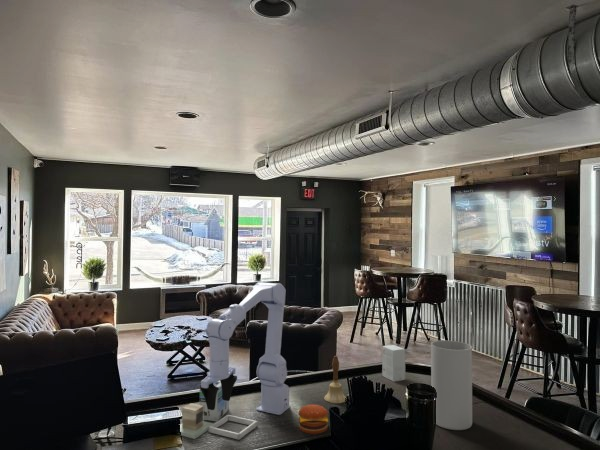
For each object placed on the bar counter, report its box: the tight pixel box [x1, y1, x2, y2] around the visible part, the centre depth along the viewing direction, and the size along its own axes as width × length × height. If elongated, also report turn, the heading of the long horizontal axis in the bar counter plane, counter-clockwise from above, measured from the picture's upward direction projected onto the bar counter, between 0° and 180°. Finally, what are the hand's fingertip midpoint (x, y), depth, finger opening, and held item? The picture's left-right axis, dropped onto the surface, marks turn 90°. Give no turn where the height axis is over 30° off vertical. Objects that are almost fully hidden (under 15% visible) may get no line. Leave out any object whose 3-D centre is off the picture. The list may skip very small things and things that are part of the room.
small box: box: [381, 344, 406, 383], centre depth 181 cm, size 8×6×13 cm
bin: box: [207, 414, 258, 440], centre depth 132 cm, size 11×10×2 cm
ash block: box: [181, 402, 205, 431], centre depth 132 cm, size 4×5×6 cm
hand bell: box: [324, 355, 347, 404], centre depth 157 cm, size 8×8×16 cm
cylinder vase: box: [430, 339, 473, 431], centre depth 138 cm, size 12×12×25 cm
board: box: [179, 420, 214, 440], centre depth 132 cm, size 9×9×1 cm
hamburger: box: [298, 404, 329, 435], centre depth 134 cm, size 9×10×7 cm
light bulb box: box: [198, 381, 230, 422], centre depth 143 cm, size 11×7×11 cm, turn 168°
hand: (218, 404), depth 128 cm, fingers open, 7 cm apart
